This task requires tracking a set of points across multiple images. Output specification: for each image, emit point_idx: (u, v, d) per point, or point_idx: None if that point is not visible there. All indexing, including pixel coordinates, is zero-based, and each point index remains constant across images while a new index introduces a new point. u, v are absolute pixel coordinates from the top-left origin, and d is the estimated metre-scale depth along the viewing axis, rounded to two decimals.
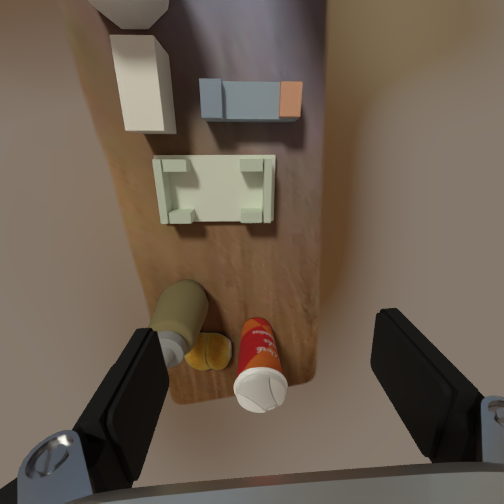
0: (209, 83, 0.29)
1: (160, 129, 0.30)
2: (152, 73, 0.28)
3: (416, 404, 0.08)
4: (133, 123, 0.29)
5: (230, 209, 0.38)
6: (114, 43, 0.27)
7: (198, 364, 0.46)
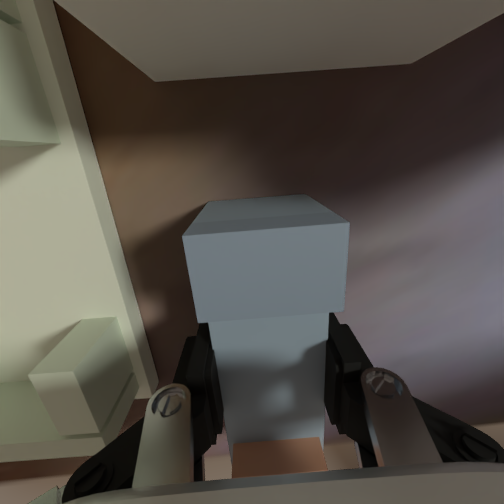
0: (328, 268, 0.06)
1: None
2: None
3: (326, 379, 0.09)
4: None
5: None
6: None
7: None
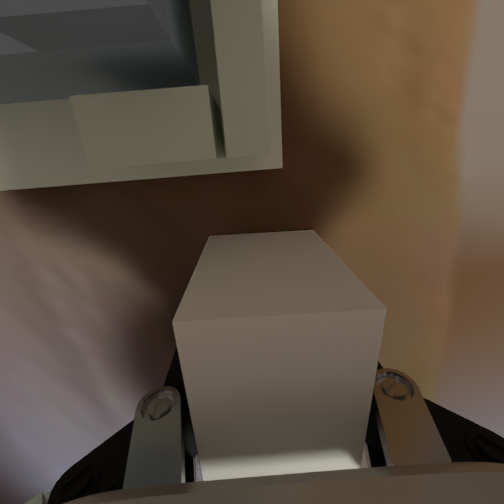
0: None
1: (193, 325, 0.05)
2: None
3: None
4: (336, 339, 0.06)
5: None
6: None
7: None
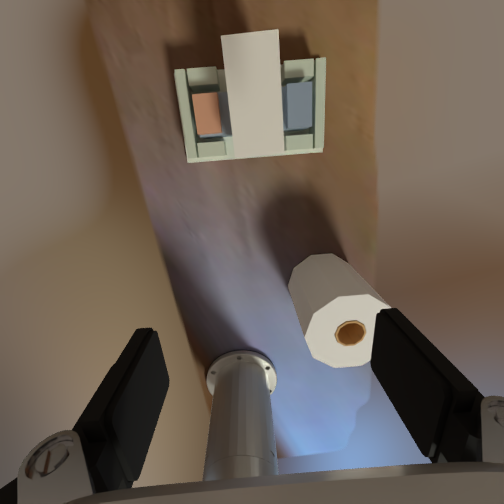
0: (300, 122, 0.26)
1: (226, 36, 0.20)
2: (236, 115, 0.22)
3: (417, 404, 0.08)
4: (266, 41, 0.20)
5: None
6: (280, 144, 0.23)
7: None
